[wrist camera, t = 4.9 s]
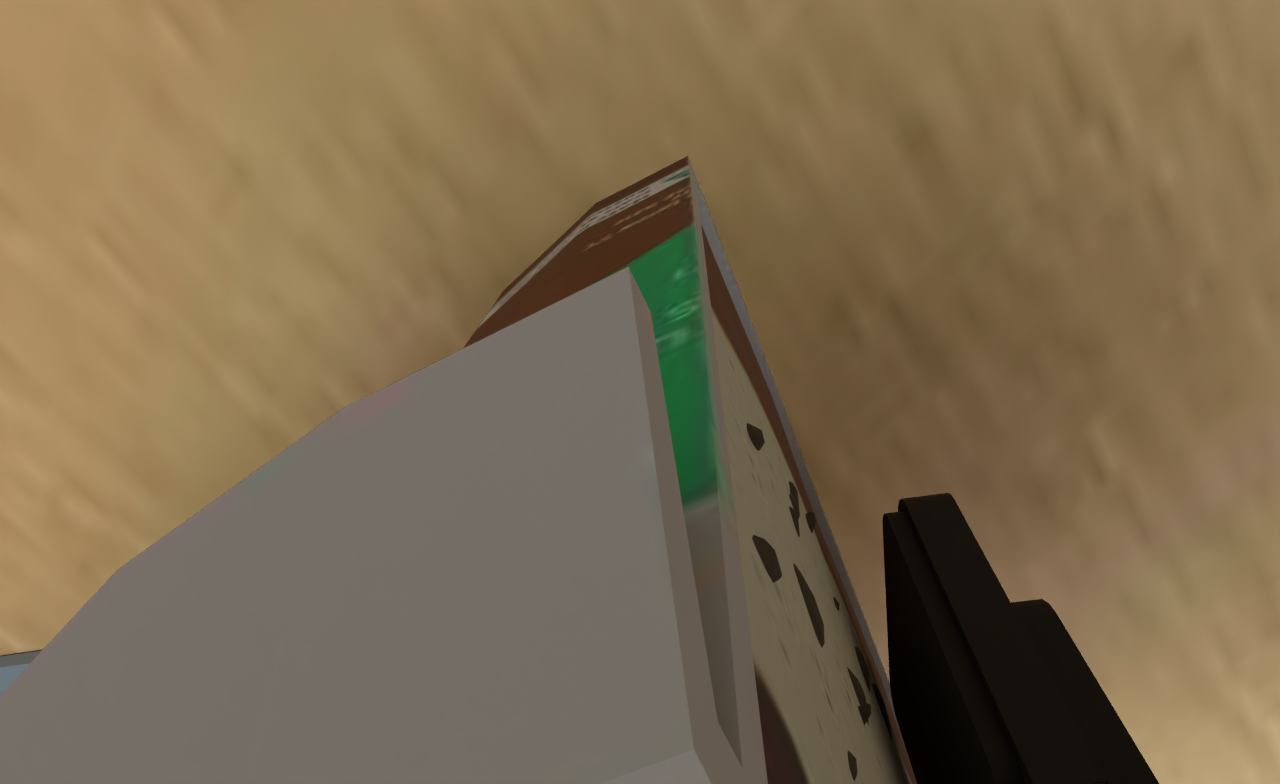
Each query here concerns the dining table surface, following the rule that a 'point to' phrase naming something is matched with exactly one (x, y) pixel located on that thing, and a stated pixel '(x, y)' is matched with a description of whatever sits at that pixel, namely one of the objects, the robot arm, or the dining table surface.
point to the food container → (501, 567)
